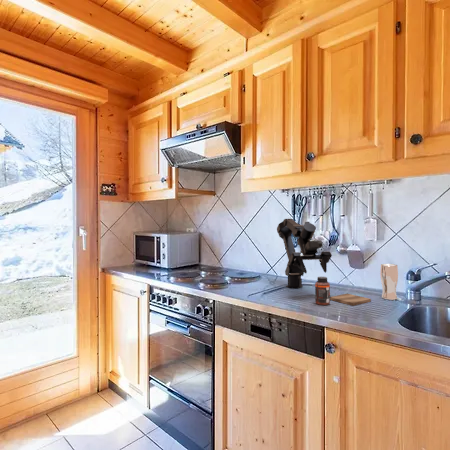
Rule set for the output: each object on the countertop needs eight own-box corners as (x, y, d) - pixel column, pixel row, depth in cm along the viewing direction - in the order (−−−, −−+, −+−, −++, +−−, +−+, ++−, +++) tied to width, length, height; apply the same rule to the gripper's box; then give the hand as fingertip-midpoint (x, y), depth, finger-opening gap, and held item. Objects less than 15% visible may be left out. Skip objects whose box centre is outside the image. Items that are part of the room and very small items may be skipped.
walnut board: (329, 299, 136) (329, 297, 136) (347, 296, 142) (347, 293, 142) (352, 305, 126) (352, 302, 126) (370, 301, 132) (370, 298, 132)
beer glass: (377, 297, 139) (376, 264, 139) (388, 295, 142) (388, 263, 142) (390, 300, 133) (389, 266, 133) (402, 299, 135) (401, 265, 135)
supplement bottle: (332, 305, 127) (332, 278, 127) (318, 305, 127) (318, 278, 127) (326, 301, 133) (326, 275, 133) (313, 302, 133) (313, 276, 133)
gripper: (291, 235, 140) (300, 262, 129) (329, 234, 143) (342, 260, 132) (285, 250, 148) (294, 277, 137) (322, 249, 150) (333, 275, 140)
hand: (316, 272), depth 136 cm, fingers open, 9 cm apart
